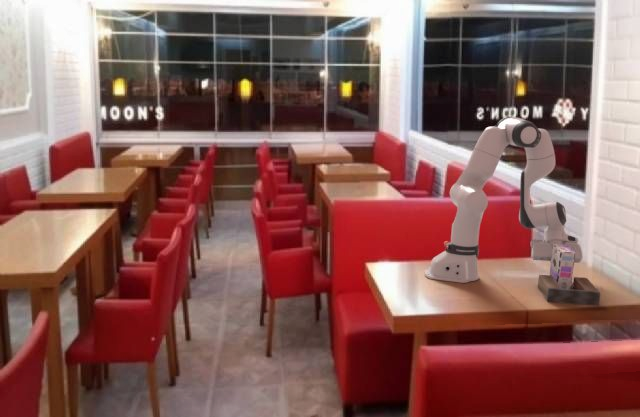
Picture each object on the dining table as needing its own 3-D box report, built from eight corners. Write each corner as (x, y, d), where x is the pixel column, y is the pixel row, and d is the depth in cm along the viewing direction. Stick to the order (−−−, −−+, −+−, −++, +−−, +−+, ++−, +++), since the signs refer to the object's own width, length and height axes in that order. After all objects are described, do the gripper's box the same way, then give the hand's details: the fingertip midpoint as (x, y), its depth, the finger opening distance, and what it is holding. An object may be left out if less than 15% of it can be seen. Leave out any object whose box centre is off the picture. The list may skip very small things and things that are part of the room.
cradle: (547, 301, 255) (548, 288, 254) (537, 286, 273) (538, 274, 272) (598, 305, 253) (600, 292, 252) (585, 289, 271) (586, 278, 270)
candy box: (571, 293, 266) (575, 252, 263) (555, 291, 267) (560, 251, 264) (562, 282, 280) (567, 243, 277) (548, 281, 281) (552, 242, 277)
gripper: (531, 235, 286) (533, 264, 278) (581, 238, 284) (585, 267, 276) (528, 242, 291) (530, 271, 283) (577, 246, 289) (581, 274, 281)
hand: (558, 269), depth 280 cm, fingers closed, pressing on candy box
